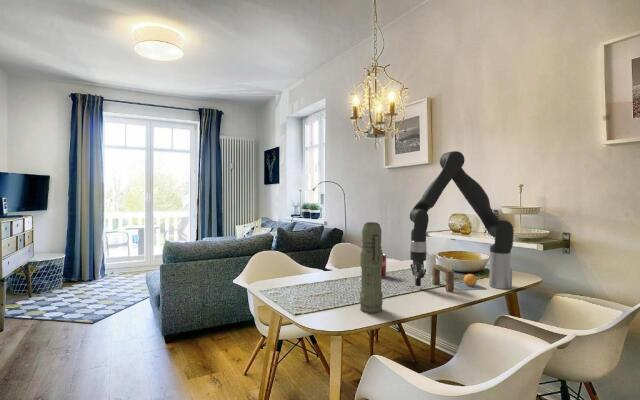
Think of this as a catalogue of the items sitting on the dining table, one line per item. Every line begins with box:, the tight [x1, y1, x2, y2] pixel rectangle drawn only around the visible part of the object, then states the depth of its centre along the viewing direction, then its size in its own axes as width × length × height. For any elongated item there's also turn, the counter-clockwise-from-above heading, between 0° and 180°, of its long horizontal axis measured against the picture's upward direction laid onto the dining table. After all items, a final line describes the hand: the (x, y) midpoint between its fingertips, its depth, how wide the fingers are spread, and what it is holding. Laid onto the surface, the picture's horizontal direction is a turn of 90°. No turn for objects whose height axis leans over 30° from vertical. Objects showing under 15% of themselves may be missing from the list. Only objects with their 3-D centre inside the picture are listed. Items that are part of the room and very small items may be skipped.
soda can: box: [381, 253, 387, 279], centre depth 198 cm, size 7×7×12 cm
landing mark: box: [454, 282, 488, 291], centre depth 179 cm, size 12×12×1 cm
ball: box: [463, 273, 478, 286], centre depth 179 cm, size 6×6×6 cm
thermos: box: [359, 221, 384, 315], centre depth 143 cm, size 9×12×35 cm
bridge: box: [431, 264, 455, 293], centre depth 176 cm, size 3×15×10 cm, turn 10°
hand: (417, 285), depth 174 cm, fingers closed
